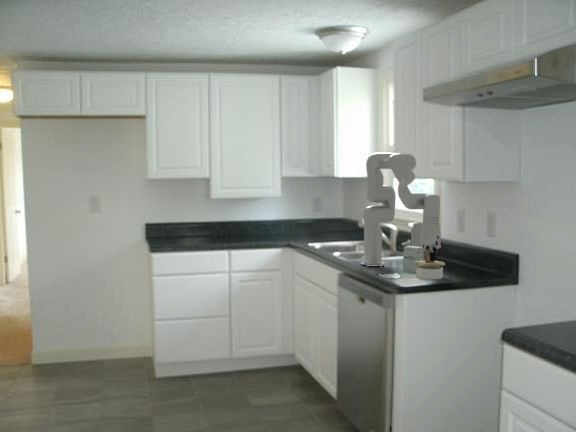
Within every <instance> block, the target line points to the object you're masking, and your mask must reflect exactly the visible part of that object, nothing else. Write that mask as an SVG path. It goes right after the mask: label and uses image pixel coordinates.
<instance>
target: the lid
mask: <svg viewBox="0 0 576 432" xmlns="http://www.w3.org/2000/svg"><path fill="white" fill-rule="evenodd" d="M430 252H431V248H430V249H425V260H421V261H415V264H417V265H422V266H439V267H443V266H445V265H446V262H444V261H441V260H436V261H430Z"/></svg>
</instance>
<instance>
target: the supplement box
mask: <svg viewBox="0 0 576 432" xmlns="http://www.w3.org/2000/svg"><path fill="white" fill-rule="evenodd" d="M402 253H403V254H402V255H403V256H402V259H403V260H402V271H403V272H409V273H416V270H417V266H422V265H417V264H415V261H421V260H422V257H423V247H417V246H412V245H406V246H404V247H403V252H402Z"/></svg>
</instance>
